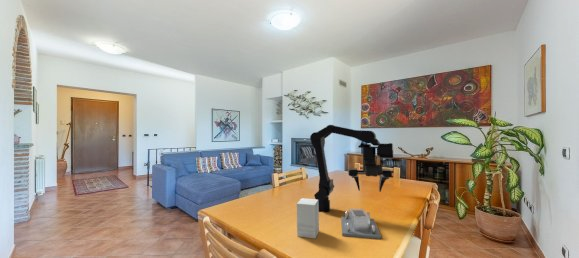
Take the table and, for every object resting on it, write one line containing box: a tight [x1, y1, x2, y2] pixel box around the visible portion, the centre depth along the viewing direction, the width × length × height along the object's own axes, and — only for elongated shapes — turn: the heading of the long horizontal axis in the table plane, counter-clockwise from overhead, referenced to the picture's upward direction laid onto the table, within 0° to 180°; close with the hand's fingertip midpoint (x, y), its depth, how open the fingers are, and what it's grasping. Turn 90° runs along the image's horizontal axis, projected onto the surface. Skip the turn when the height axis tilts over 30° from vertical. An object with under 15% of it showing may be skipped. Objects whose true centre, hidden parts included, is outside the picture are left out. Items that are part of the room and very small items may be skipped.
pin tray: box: [340, 210, 382, 240], centre depth 92 cm, size 14×17×4 cm
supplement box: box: [296, 197, 320, 240], centre depth 88 cm, size 7×7×13 cm
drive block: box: [348, 208, 371, 231], centre depth 92 cm, size 6×10×5 cm, turn 177°
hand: (369, 191), depth 104 cm, fingers open, 9 cm apart
